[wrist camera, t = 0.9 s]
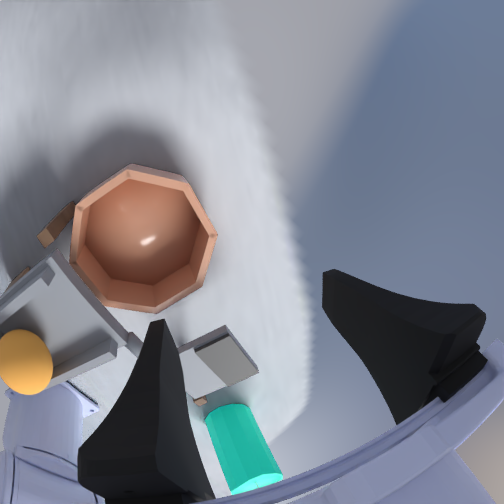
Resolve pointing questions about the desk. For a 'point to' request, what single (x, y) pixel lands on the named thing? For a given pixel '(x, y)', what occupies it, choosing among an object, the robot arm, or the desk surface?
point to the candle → (241, 449)
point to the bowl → (141, 240)
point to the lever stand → (51, 234)
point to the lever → (106, 331)
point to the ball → (25, 362)
